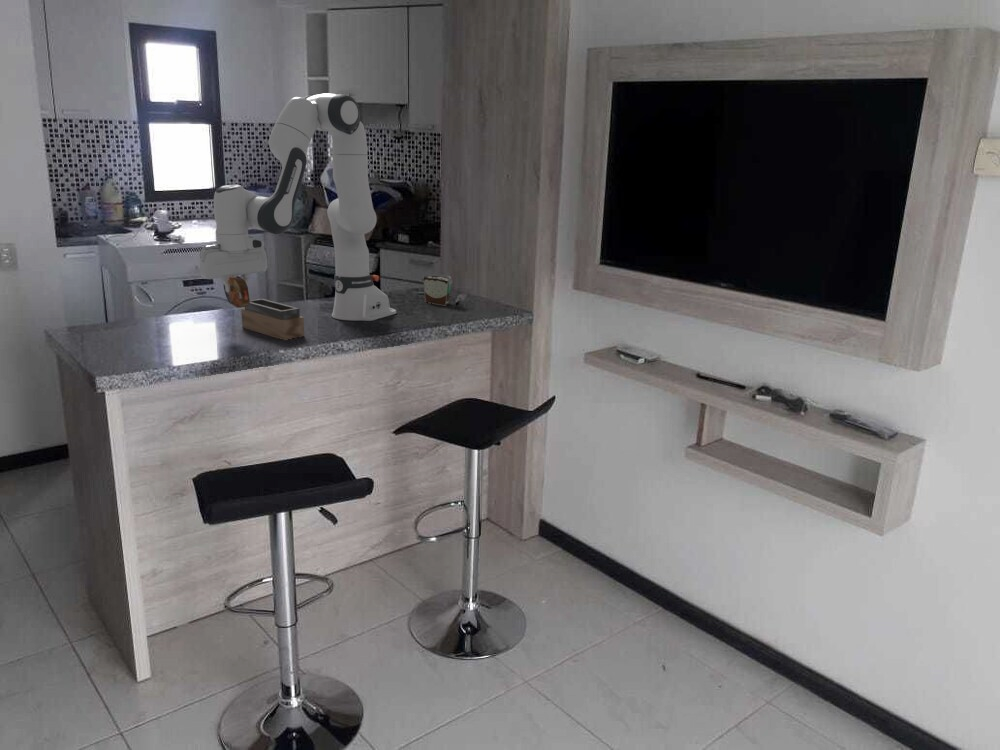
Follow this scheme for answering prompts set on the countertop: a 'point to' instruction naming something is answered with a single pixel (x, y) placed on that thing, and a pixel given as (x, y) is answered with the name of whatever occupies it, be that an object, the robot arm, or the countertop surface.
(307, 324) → the countertop surface
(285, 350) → the countertop surface
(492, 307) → the countertop surface
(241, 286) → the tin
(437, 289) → the food container
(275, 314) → the open rectangular box
